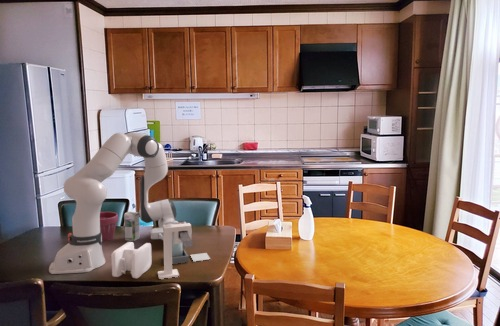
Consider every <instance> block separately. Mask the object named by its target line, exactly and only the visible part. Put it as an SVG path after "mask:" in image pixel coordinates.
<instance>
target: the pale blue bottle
mask: <svg viewBox="0 0 500 326" xmlns="http://www.w3.org/2000/svg"><path fill="white" fill-rule="evenodd" d="M183 250H184V246H183V244H182V243H178V244H174V241H173V232H172V257H179V256H183Z"/></svg>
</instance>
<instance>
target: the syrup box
mask: <svg viewBox="0 0 500 326" xmlns="http://www.w3.org/2000/svg"><path fill="white" fill-rule="evenodd" d="M123 218H124V240H125V241H127V242H135V241H137V240H138V239H140V230H141V229H140V216H139V211H127V212H125V213H124V215H123Z"/></svg>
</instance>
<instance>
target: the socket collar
mask: <svg viewBox="0 0 500 326" xmlns="http://www.w3.org/2000/svg"><path fill="white" fill-rule="evenodd" d="M189 257H190V255H189V254H188V252H187V249H186V248H185V249H184V248H183V256H179V257H172V264H174V265H179V264H178V263H181V264H186V263H185V262H190V259H189Z"/></svg>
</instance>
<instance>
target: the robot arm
mask: <svg viewBox="0 0 500 326" xmlns="http://www.w3.org/2000/svg"><path fill="white" fill-rule="evenodd" d="M129 154H130V155H133V156H134V157H141V158H143V160H144V166H145V168H144V169H145V170H144V173H143V174H142V175H141V176H140V180H139V211H138V212H139V220H140V221H142V222H143V223H146V224H149V223H153V222H154V221H158V227H154V228H151V229H150V230H148V234H150V239H151V240H161V241H164V239H163V225H173V224H179V223H187V222H186V221H184V220H183V221H182V220H181V221H180V220H175V219H176V218H177V217H178V216H177V209H176V206H175V204H174V202H173V201H172V200H171V199H169V198H166V199H162V200H158V201H154V202H153V201H152V202H149V191H150V188H152V186H153V185H155V184H157V183H158V182H161V181H162V180H164V178H166V176H167V174H168V171H169V165H168V160H167V155H166V151H165V149H164V146H163V145H162V144H161V143H160V142H158V141H157V139H156V138H155V137H153V136H151V135H146V134H144V133H142V132H133V131H129V132H127V131H126V132H125V133H122V132H115V133H113V134H112V135H111V136H110V137H109V138H108V139H106V141H105V142H104V143H103V144H102V145H101V147H100V148H99V149H98V150H97V152H96V153H95V154H94V155H93V157H92V158H91V159H90V160H89V161H88V162H87V163H86V164H85V165H84V166H82V168H81V169H79V171H77V172H76V173H75V174H74V175H72V176H70V177H68V178H66V180H65V181H64V183H63V188H62V189H63V191H64V193H65V194H66V195H67V197H69V199H71V200H73V201H75V203H76V204H75V209H74V213H73V214H72V218H71V221H72V226H71V227H72V232H69V233H68V234H67V243H66V244H65V245H64V246H63V247H62V248H61V249H59V250H58V251H57V252H56V255H55V256H54V257H55V258H54V261H52V262H51V263H50V264H49V267H48V272H49V273H50V274H52V275H57V274H76V273H77V274H79V273H89V272H91V271H93V270H94V269H98V268H100V267H102V266H103V265H104V264H105V263H106V258H105V255H104V251H103V247H102V243H103V241H102V234H101V231H100V212H101V210H102V209H101V208H102V205H103V202H104V201H106V198H107V195H108V190H107V188H106V186H105V185H104V184H103V183H102V182H103V181H105V180H106V179H108V178H110V177H112V175H114V173H115V172H116V171H117V169H118V168H119V166H120V165H121V164H122V163H123V161H124V160H125V158H126V156H127V155H129ZM192 229H193V228H191V232H193V231H192Z"/></svg>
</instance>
